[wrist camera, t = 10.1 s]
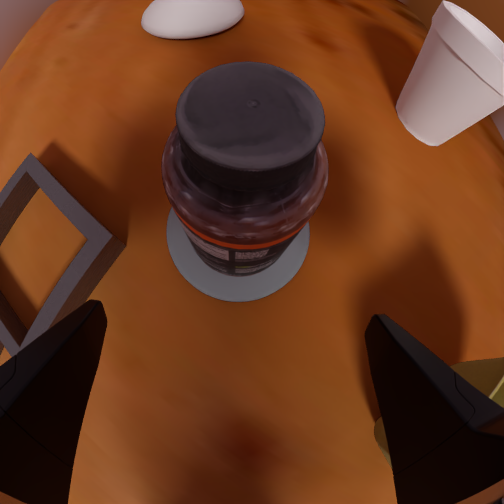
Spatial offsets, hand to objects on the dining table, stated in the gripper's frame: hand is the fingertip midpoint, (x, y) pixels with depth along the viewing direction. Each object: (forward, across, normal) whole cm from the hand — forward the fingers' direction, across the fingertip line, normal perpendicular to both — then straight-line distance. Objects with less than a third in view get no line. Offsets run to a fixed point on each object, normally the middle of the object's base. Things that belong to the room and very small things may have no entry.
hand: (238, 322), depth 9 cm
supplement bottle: (+10, 0, +2) cm, 10 cm away
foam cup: (+20, -18, -8) cm, 27 cm away
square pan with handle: (+6, +17, +6) cm, 20 cm away
